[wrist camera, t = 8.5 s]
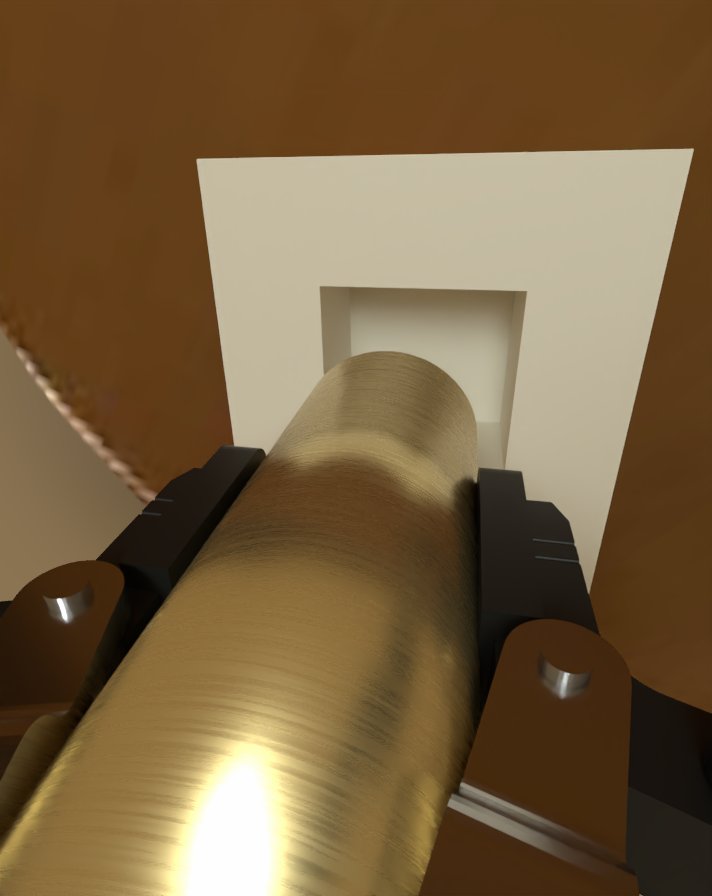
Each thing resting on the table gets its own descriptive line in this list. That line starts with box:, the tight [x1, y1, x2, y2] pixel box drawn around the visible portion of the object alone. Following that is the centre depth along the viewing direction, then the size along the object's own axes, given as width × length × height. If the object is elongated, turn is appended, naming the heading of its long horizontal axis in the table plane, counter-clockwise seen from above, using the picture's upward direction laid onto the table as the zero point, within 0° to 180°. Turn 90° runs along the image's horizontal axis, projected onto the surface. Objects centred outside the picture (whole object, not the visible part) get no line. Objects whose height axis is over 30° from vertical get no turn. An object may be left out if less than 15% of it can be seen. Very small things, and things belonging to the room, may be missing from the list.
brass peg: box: [0, 351, 481, 896], centre depth 8 cm, size 4×4×10 cm
